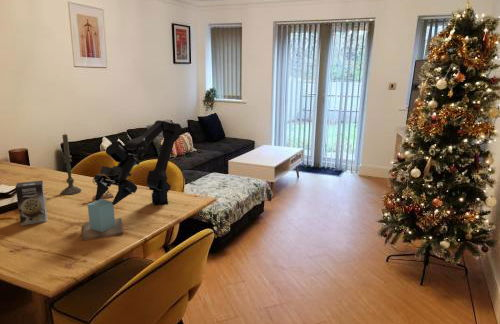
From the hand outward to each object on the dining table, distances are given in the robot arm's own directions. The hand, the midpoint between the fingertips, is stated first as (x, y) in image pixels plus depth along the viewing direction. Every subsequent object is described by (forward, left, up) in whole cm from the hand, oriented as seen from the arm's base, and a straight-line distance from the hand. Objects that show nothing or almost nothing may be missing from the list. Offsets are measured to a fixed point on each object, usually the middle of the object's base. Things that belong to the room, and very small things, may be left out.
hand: (104, 202), depth 135 cm
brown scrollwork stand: (+1, -37, -11) cm, 38 cm away
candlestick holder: (+16, -51, -11) cm, 55 cm away
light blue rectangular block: (+1, +1, -10) cm, 10 cm away
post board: (+1, +1, -11) cm, 11 cm away
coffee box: (+27, -17, -11) cm, 34 cm away
